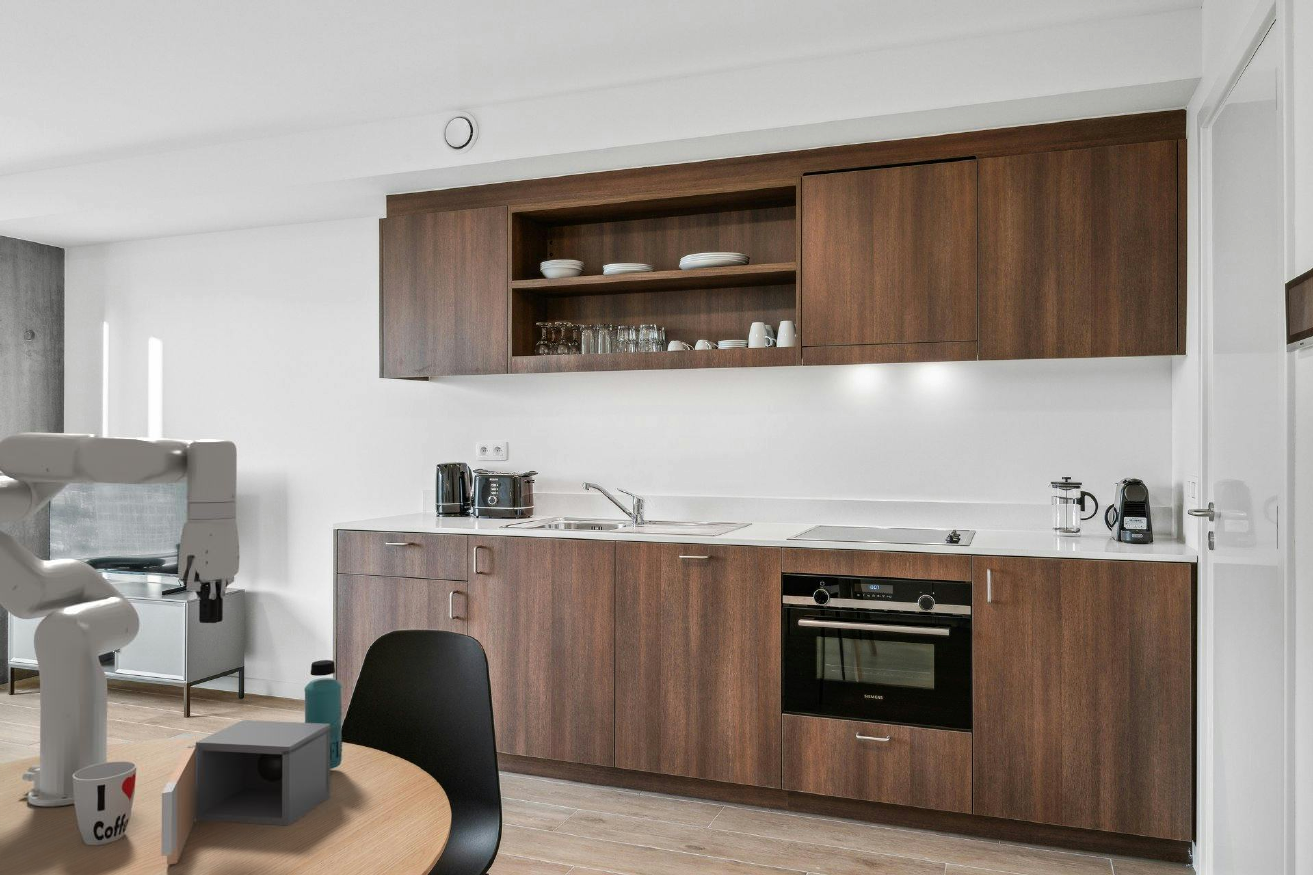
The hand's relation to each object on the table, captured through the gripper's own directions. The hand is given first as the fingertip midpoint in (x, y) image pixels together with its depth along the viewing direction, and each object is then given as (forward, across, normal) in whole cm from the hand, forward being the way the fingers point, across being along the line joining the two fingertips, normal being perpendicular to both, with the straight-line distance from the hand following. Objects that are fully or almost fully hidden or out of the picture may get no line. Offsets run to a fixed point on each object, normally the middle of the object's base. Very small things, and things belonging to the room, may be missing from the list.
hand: (210, 621), depth 148 cm
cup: (+29, +17, -5) cm, 34 cm away
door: (+29, +19, +9) cm, 35 cm away
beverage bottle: (+29, -13, +13) cm, 35 cm away
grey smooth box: (+29, +3, +12) cm, 32 cm away
